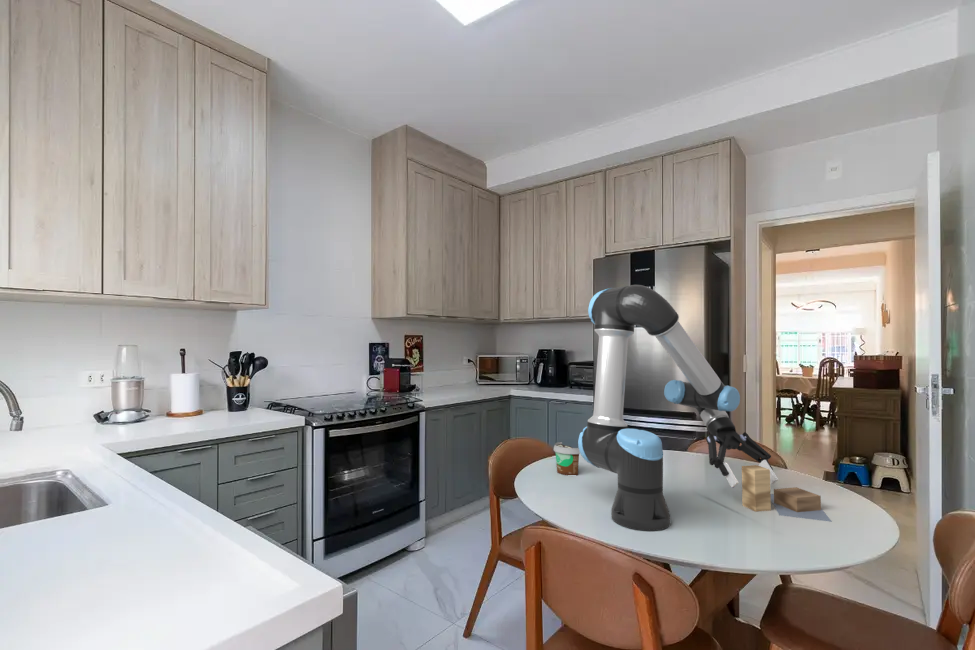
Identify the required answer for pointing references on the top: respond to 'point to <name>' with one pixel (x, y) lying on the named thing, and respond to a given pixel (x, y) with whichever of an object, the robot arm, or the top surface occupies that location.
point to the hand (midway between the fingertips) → (755, 483)
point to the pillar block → (756, 488)
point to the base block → (797, 499)
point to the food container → (566, 459)
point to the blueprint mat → (807, 515)
